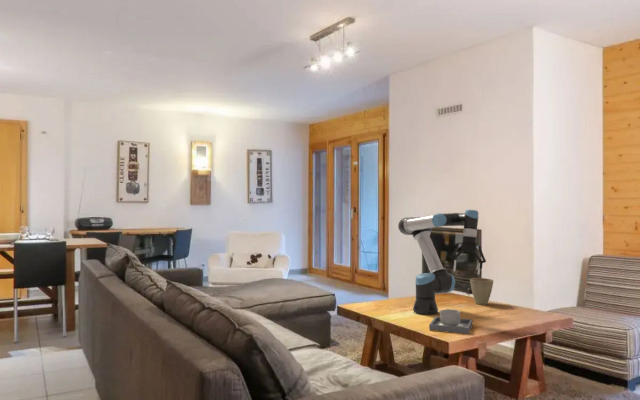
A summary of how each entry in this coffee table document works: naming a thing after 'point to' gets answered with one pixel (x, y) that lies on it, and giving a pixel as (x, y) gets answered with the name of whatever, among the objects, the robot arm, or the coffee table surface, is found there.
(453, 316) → the teacup
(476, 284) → the plant pot
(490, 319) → the coffee table surface
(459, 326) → the tray
